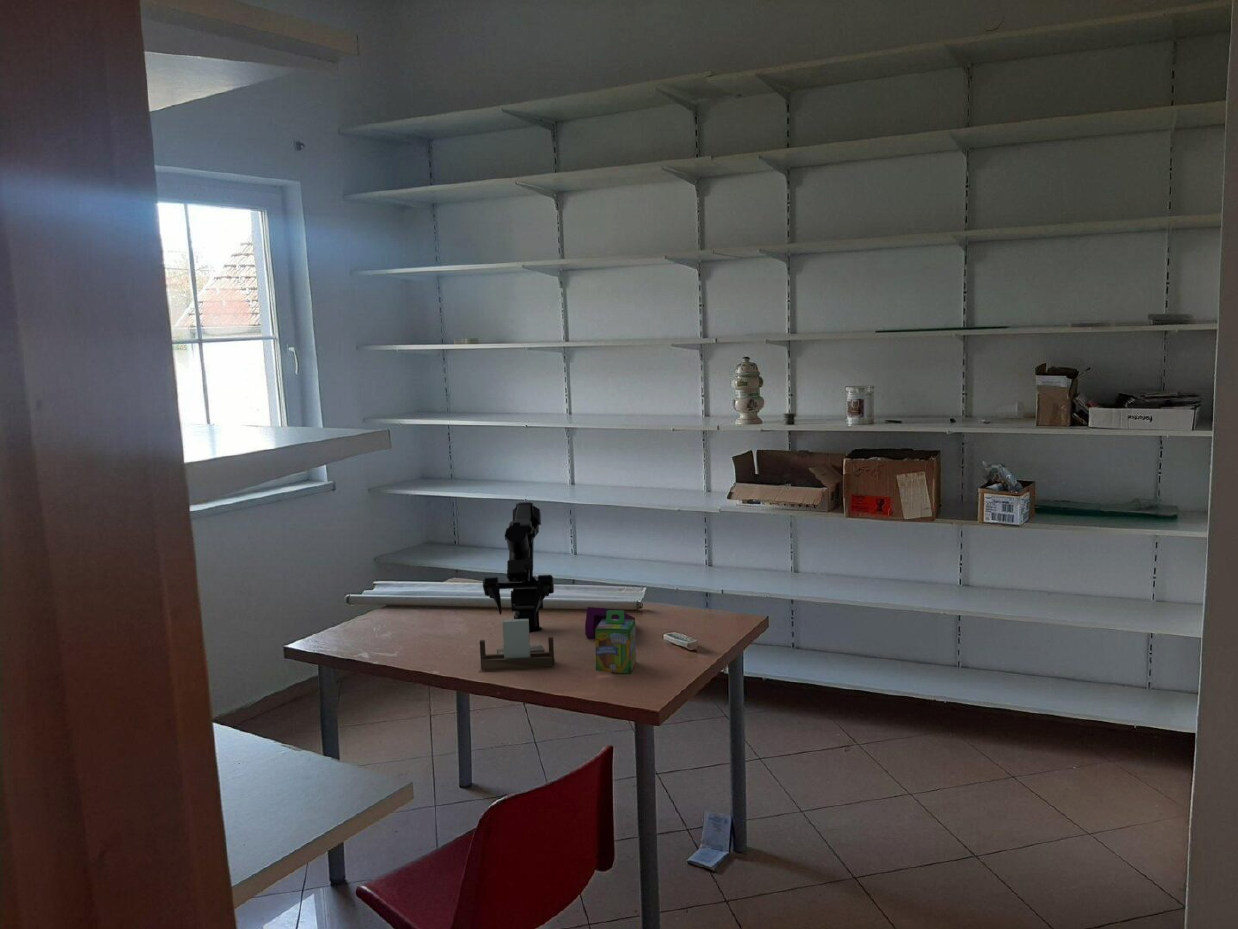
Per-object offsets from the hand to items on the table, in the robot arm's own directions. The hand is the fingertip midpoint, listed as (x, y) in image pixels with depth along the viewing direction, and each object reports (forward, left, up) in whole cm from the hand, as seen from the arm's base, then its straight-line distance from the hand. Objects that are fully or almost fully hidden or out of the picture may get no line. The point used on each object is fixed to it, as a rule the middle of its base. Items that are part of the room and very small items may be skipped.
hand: (517, 613), depth 243 cm
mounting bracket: (-32, -5, -13) cm, 35 cm away
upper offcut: (-1, -1, -12) cm, 12 cm away
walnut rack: (+3, +6, -13) cm, 14 cm away
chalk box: (-18, +20, -13) cm, 30 cm away
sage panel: (+3, +6, -12) cm, 14 cm away
